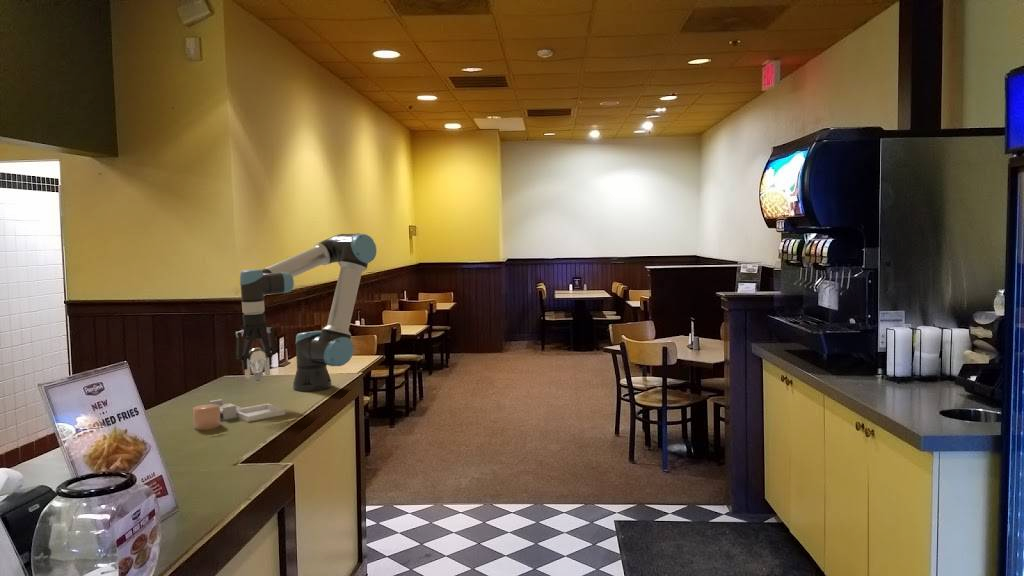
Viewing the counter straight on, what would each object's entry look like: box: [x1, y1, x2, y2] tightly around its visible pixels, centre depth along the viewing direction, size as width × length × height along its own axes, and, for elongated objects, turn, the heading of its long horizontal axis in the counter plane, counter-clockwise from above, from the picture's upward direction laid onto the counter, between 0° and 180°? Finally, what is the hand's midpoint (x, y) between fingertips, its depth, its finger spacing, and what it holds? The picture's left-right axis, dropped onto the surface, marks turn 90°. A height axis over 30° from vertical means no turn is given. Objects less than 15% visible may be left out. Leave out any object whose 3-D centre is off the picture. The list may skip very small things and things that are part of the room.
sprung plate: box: [220, 403, 242, 414], centre depth 243 cm, size 9×9×1 cm
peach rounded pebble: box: [192, 403, 222, 431], centre depth 229 cm, size 8×8×7 cm
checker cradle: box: [208, 398, 239, 422], centre depth 243 cm, size 10×14×5 cm
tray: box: [237, 403, 286, 423], centre depth 243 cm, size 13×13×2 cm
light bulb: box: [247, 347, 267, 382], centre depth 255 cm, size 7×7×12 cm
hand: (257, 376), depth 255 cm, fingers closed on light bulb, 6 cm apart
